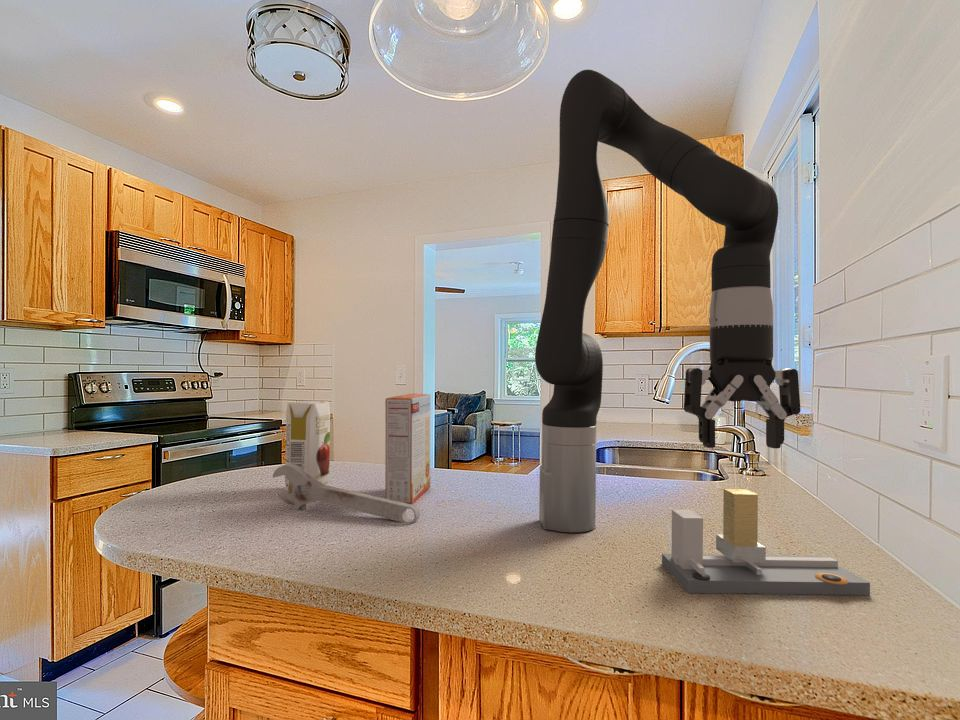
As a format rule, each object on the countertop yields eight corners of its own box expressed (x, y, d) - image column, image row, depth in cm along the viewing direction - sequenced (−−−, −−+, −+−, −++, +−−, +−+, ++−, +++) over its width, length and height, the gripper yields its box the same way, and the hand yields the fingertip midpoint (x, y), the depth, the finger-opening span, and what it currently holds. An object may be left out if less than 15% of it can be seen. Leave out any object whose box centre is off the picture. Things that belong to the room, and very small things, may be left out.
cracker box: (404, 487, 116) (406, 393, 116) (431, 488, 115) (432, 393, 115) (382, 503, 102) (384, 396, 102) (412, 505, 101) (413, 397, 101)
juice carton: (280, 494, 108) (281, 402, 108) (300, 485, 116) (302, 400, 116) (314, 496, 106) (315, 403, 107) (332, 487, 115) (334, 401, 115)
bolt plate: (690, 595, 62) (691, 528, 62) (661, 564, 72) (662, 506, 72) (874, 597, 62) (874, 530, 62) (821, 566, 72) (821, 508, 72)
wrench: (412, 541, 89) (268, 504, 98) (417, 538, 91) (275, 502, 100) (418, 495, 89) (273, 462, 98) (423, 492, 90) (280, 460, 100)
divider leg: (742, 574, 64) (743, 500, 64) (715, 553, 71) (716, 487, 71) (775, 574, 64) (776, 501, 64) (745, 553, 71) (745, 487, 71)
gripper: (699, 321, 65) (699, 451, 65) (812, 322, 65) (813, 452, 65) (676, 326, 73) (676, 443, 72) (777, 327, 73) (778, 443, 72)
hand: (741, 447), depth 69 cm, fingers open, 8 cm apart
